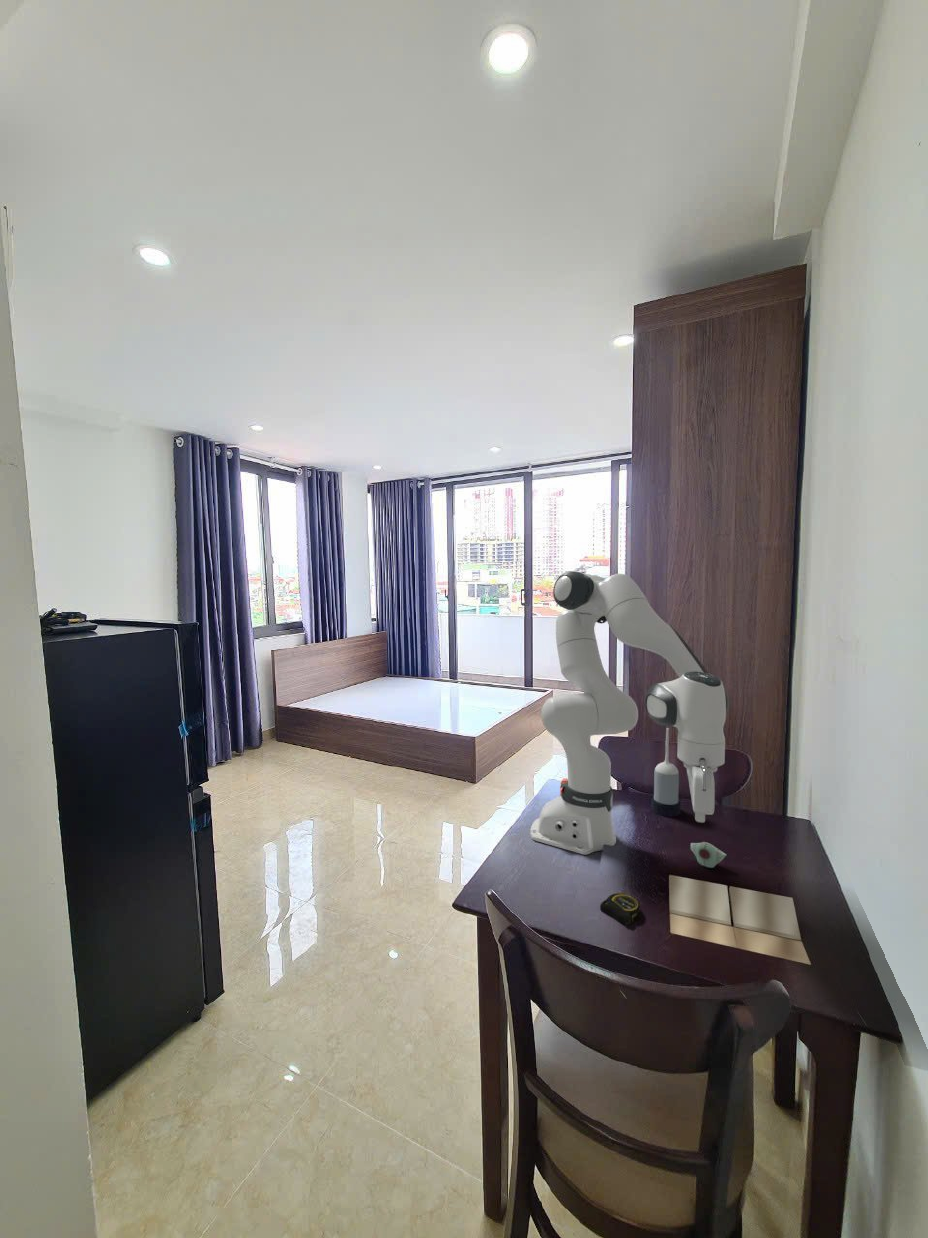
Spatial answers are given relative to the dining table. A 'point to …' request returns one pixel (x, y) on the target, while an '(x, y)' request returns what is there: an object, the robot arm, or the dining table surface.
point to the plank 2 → (764, 912)
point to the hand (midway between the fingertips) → (699, 816)
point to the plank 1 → (699, 899)
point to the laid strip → (739, 938)
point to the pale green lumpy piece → (707, 854)
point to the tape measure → (622, 908)
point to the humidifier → (666, 787)
